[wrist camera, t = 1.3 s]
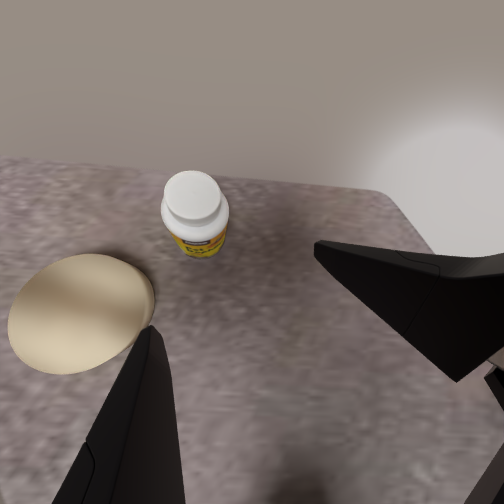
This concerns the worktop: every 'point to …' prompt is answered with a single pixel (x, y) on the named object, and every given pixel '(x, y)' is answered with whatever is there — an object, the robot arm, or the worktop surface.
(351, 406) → the worktop surface
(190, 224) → the supplement bottle
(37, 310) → the birch plinth
